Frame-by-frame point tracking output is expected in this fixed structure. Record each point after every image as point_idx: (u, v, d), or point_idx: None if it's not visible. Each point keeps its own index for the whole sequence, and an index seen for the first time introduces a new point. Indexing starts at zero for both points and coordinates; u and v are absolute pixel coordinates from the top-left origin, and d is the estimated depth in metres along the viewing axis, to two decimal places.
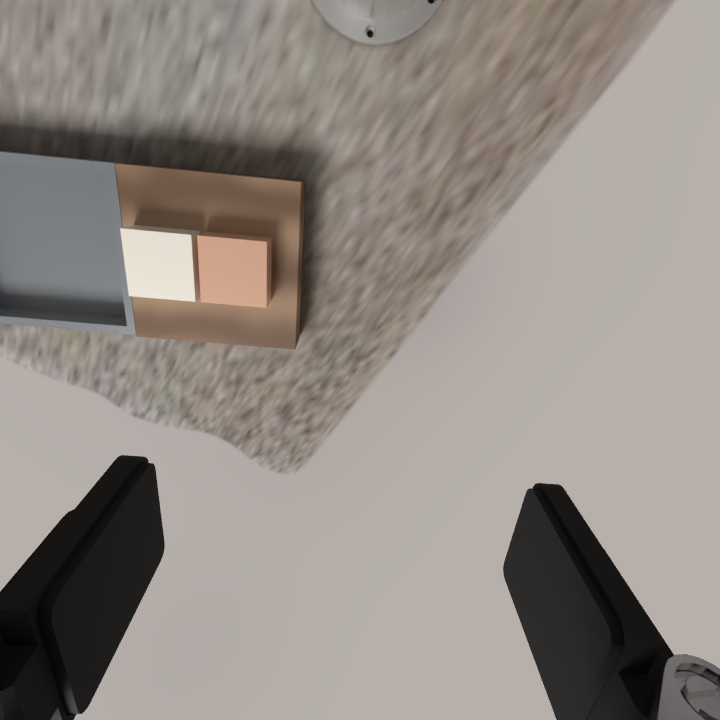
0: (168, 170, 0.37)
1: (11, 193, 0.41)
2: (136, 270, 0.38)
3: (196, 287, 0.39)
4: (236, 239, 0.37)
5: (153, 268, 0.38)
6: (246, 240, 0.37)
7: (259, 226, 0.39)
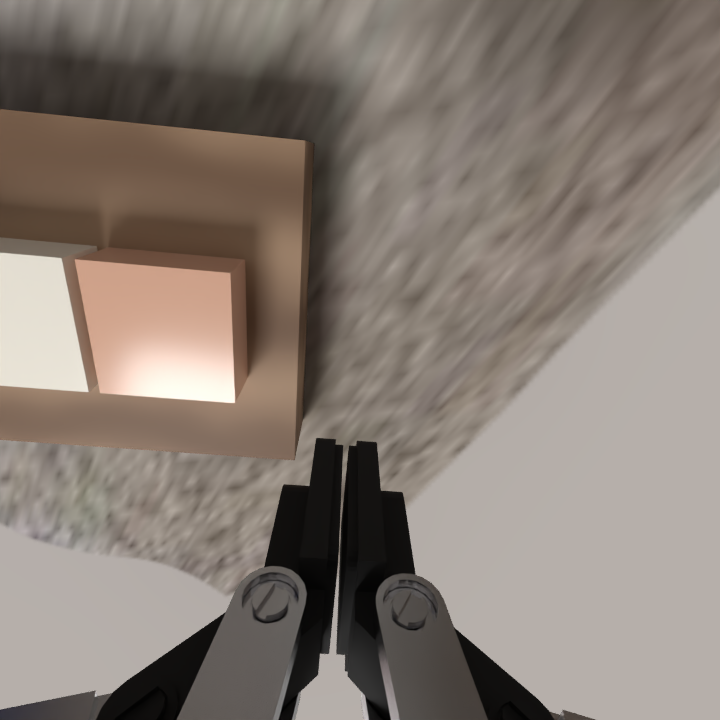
0: (11, 114, 0.17)
1: None
2: None
3: (88, 362, 0.19)
4: (163, 267, 0.17)
5: None
6: (185, 269, 0.17)
7: (218, 236, 0.19)
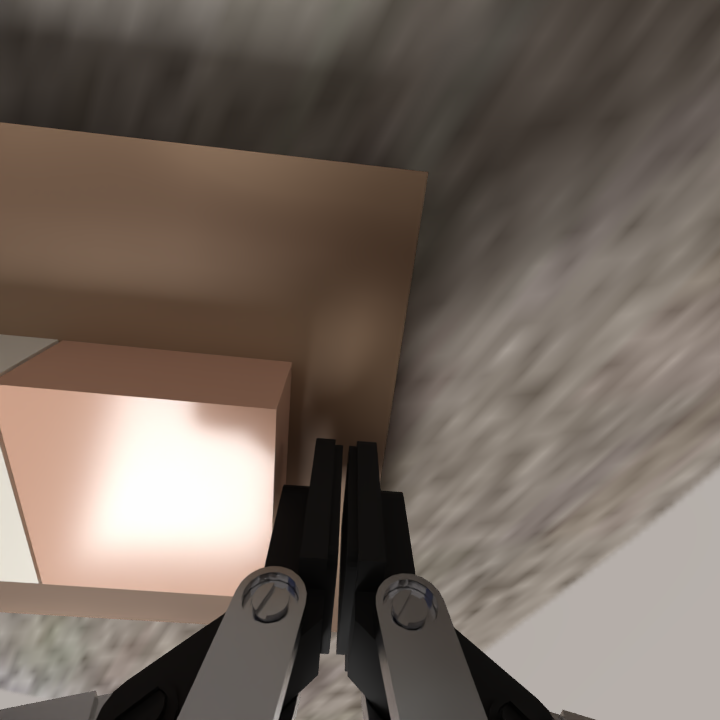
0: None
1: None
2: None
3: None
4: (154, 398, 0.09)
5: None
6: (195, 402, 0.09)
7: (263, 327, 0.11)
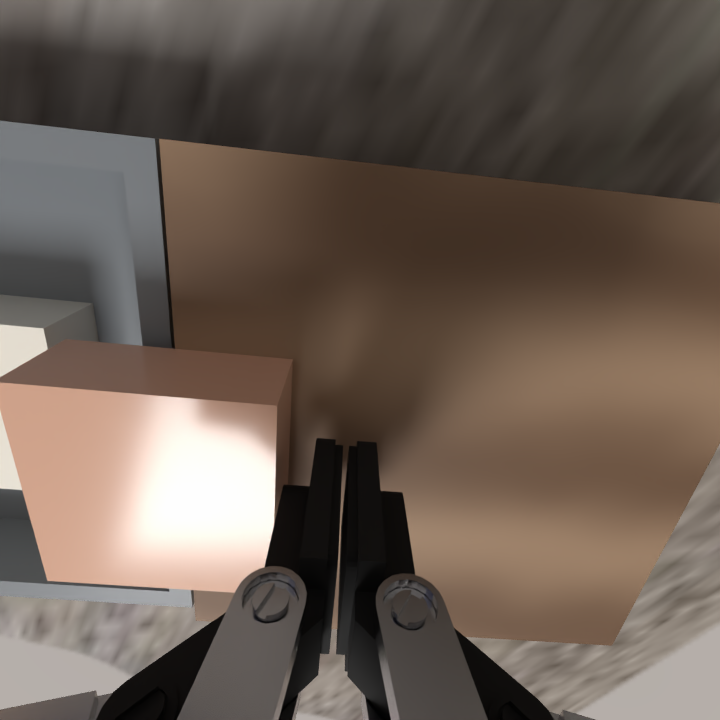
0: (363, 168, 0.10)
1: None
2: None
3: None
4: (156, 395, 0.09)
5: None
6: (196, 399, 0.09)
7: (631, 359, 0.12)
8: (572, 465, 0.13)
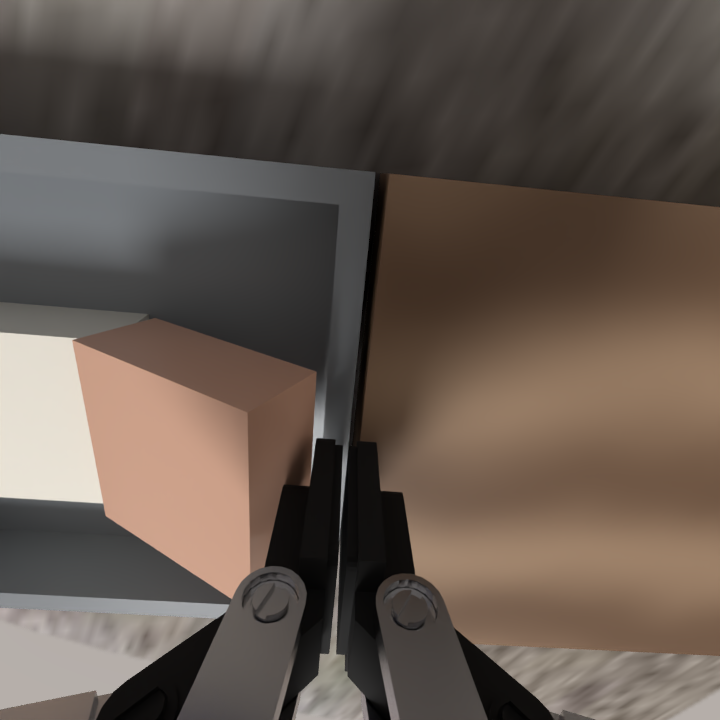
0: (583, 199, 0.10)
1: None
2: None
3: None
4: (162, 377, 0.10)
5: None
6: (189, 387, 0.10)
7: None
8: None
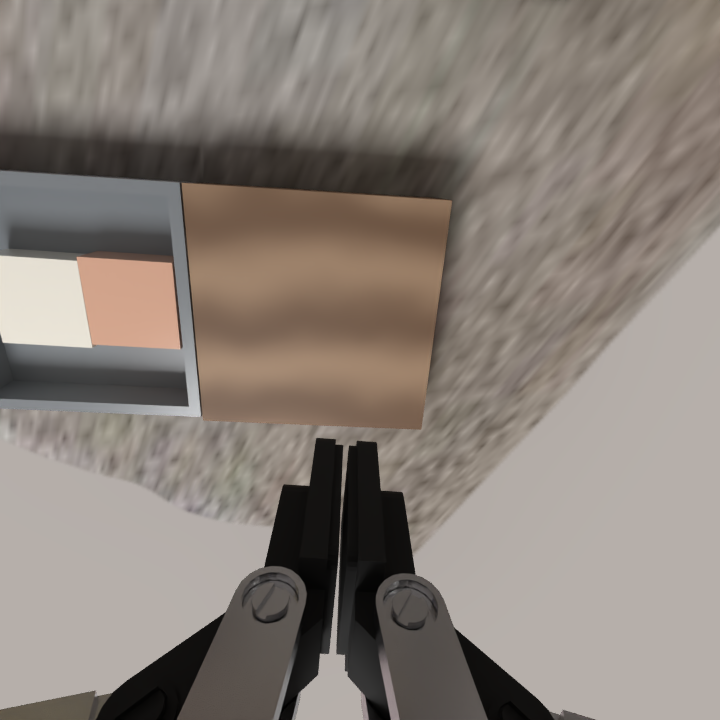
0: (259, 190, 0.25)
1: (27, 229, 0.29)
2: None
3: None
4: (130, 260, 0.28)
5: None
6: (144, 261, 0.28)
7: (385, 265, 0.27)
8: (373, 320, 0.29)
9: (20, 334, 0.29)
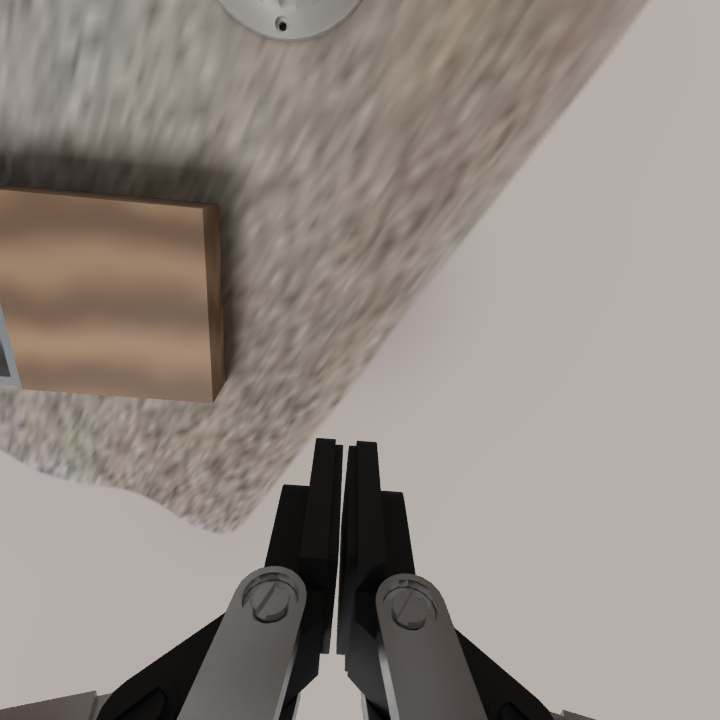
0: (37, 195, 0.30)
1: None
2: None
3: None
4: None
5: None
6: None
7: (156, 261, 0.32)
8: (154, 307, 0.34)
9: None
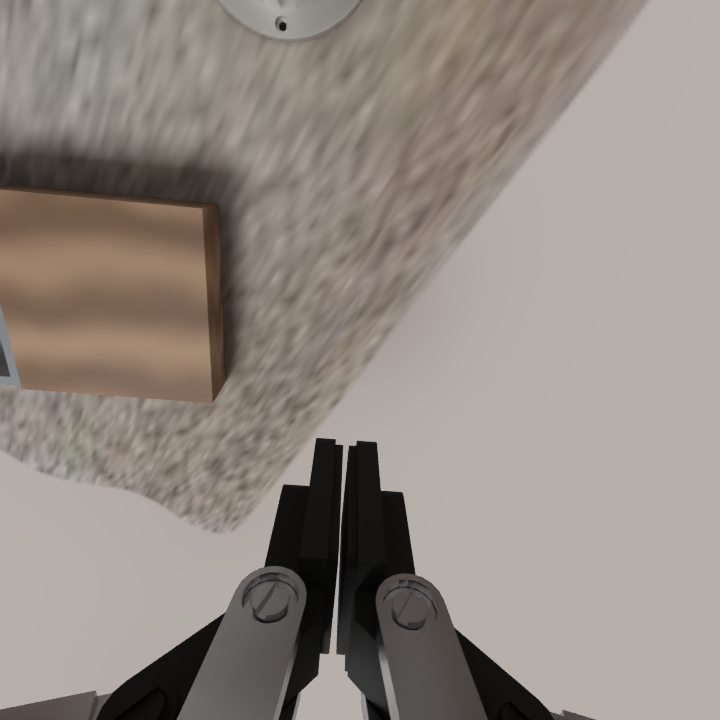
0: (37, 195, 0.30)
1: None
2: None
3: None
4: None
5: None
6: None
7: (156, 261, 0.32)
8: (154, 307, 0.34)
9: None
